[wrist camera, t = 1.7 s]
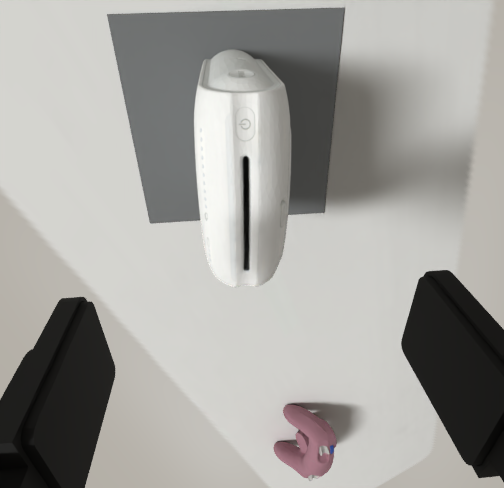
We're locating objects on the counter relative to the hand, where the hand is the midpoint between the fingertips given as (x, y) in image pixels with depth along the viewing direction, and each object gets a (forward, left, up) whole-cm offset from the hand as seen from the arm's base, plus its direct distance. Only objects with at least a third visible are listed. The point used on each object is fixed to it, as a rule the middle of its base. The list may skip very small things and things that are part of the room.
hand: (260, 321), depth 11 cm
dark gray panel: (0, 0, -18) cm, 18 cm away
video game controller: (+38, +7, -18) cm, 42 cm away
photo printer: (0, 0, -18) cm, 18 cm away
